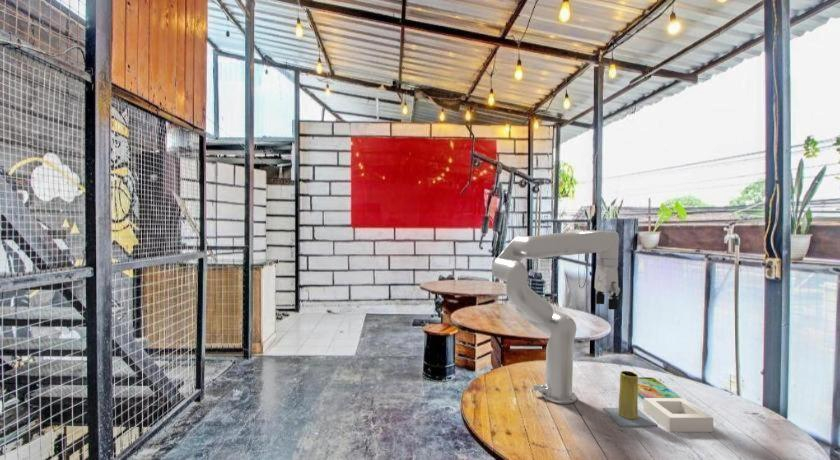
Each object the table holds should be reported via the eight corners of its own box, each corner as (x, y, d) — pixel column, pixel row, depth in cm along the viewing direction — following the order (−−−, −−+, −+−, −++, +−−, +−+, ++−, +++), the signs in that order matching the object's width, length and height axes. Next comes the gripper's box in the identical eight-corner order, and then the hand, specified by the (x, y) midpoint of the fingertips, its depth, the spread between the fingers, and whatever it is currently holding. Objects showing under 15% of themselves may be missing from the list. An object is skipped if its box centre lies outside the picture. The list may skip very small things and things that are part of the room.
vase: (636, 412, 136) (637, 371, 136) (639, 421, 130) (641, 378, 130) (616, 409, 138) (617, 369, 138) (619, 418, 132) (620, 375, 132)
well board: (669, 431, 125) (670, 417, 125) (643, 410, 139) (643, 397, 139) (712, 431, 126) (713, 417, 126) (682, 410, 140) (682, 398, 140)
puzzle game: (649, 395, 141) (624, 374, 161) (649, 408, 141) (623, 385, 161) (683, 397, 141) (653, 375, 161) (683, 410, 141) (653, 386, 161)
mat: (621, 426, 128) (621, 425, 128) (602, 409, 140) (602, 407, 140) (657, 426, 128) (657, 425, 128) (636, 409, 140) (636, 407, 140)
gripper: (587, 260, 163) (586, 302, 163) (609, 265, 145) (607, 311, 146) (605, 260, 163) (604, 302, 163) (629, 265, 146) (628, 311, 146)
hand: (606, 306), depth 154 cm, fingers open, 9 cm apart
